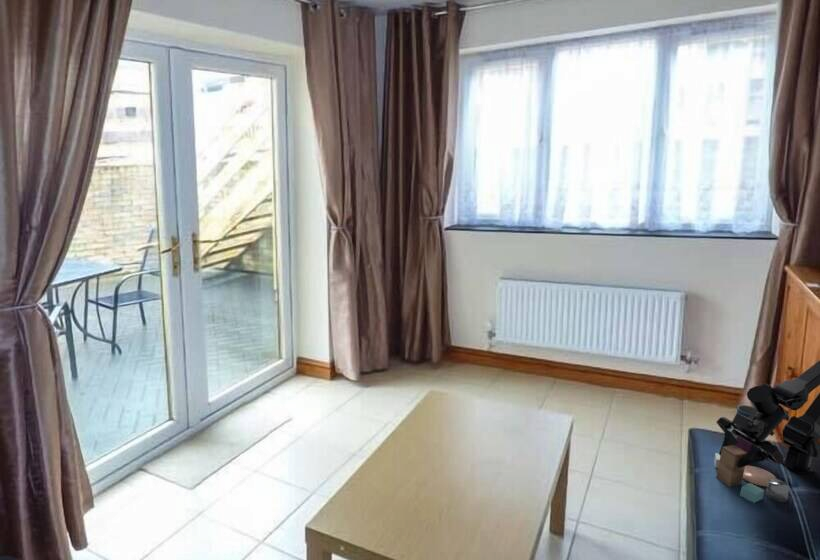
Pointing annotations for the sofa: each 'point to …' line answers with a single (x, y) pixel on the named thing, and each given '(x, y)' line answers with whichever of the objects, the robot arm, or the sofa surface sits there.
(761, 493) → the teal block
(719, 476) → the walnut block
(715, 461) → the grey block
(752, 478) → the coaster
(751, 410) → the cup
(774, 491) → the metal bowl
